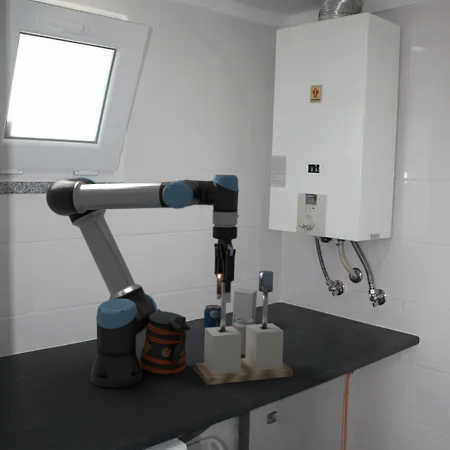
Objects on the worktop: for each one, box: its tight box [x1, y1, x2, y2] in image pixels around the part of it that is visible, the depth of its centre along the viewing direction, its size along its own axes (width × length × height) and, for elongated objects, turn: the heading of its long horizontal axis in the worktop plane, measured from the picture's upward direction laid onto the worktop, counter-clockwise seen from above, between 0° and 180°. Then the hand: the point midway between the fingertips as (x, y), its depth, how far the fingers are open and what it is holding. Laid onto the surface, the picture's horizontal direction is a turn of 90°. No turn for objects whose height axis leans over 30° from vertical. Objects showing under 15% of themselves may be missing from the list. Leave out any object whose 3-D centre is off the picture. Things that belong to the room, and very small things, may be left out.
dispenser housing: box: [203, 322, 284, 375], centre depth 186 cm, size 23×9×12 cm, turn 109°
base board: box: [193, 358, 294, 386], centre depth 186 cm, size 28×14×2 cm, turn 109°
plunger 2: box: [258, 270, 274, 329], centre depth 186 cm, size 4×4×19 cm
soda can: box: [203, 304, 221, 337], centre depth 222 cm, size 7×7×12 cm
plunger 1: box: [216, 273, 227, 333], centre depth 182 cm, size 4×4×19 cm
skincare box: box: [231, 287, 258, 328], centre depth 236 cm, size 8×7×16 cm
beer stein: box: [139, 308, 191, 375], centre depth 185 cm, size 19×15×20 cm
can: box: [234, 318, 256, 357], centre depth 205 cm, size 8×8×12 cm
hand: (223, 300), depth 182 cm, fingers closed on plunger 1, 4 cm apart
